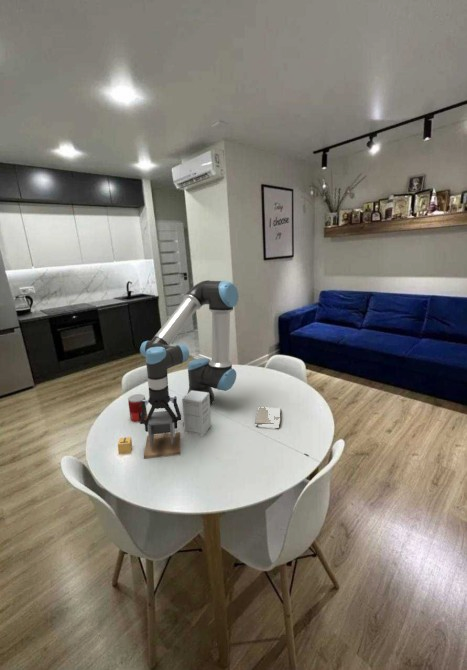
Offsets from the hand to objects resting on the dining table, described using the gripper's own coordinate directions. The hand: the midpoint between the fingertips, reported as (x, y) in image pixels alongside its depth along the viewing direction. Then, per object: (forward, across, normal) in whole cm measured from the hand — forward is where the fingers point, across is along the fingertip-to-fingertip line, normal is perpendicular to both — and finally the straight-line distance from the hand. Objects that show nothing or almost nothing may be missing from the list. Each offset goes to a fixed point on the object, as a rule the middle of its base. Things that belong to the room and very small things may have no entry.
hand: (162, 436), depth 125 cm
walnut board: (+4, 0, 0) cm, 4 cm away
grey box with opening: (+1, 0, 0) cm, 1 cm away
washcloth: (+5, -49, -13) cm, 51 cm away
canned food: (+5, +13, -25) cm, 29 cm away
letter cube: (+5, +15, 0) cm, 16 cm away
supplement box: (+5, -15, -10) cm, 19 cm away
